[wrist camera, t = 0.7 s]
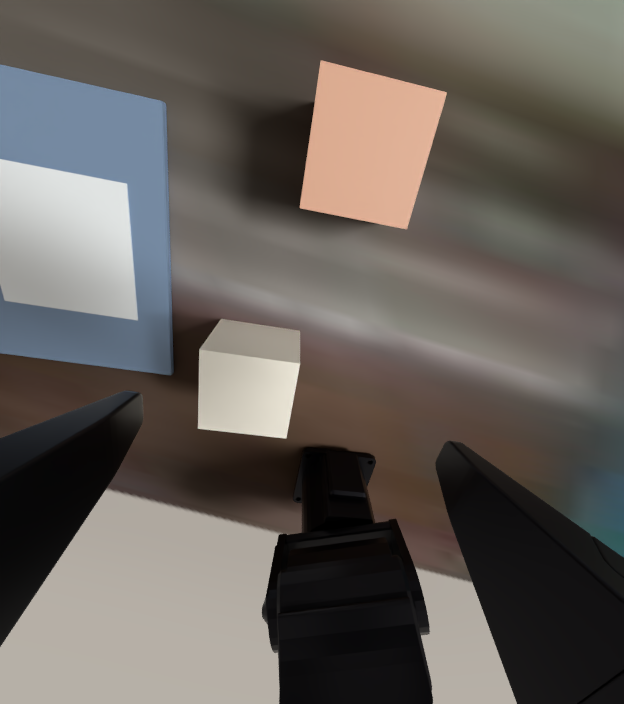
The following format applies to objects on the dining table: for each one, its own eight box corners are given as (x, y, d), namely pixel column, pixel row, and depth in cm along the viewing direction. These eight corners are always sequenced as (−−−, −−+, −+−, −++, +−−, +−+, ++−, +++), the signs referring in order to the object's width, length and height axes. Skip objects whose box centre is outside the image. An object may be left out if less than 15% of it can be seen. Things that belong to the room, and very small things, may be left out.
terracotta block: (380, 223, 18) (406, 229, 14) (299, 207, 18) (299, 208, 13) (406, 124, 16) (446, 92, 12) (315, 102, 15) (320, 60, 11)
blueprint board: (173, 371, 22) (170, 375, 22) (-4, 348, 21) (-12, 352, 20) (166, 104, 15) (161, 100, 15) (-100, 44, 14) (-116, 37, 13)
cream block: (288, 394, 23) (286, 438, 19) (218, 384, 23) (197, 428, 18) (300, 330, 21) (300, 363, 17) (221, 318, 20) (199, 349, 16)
